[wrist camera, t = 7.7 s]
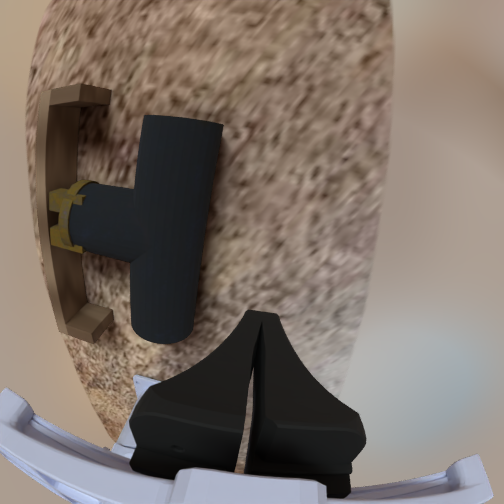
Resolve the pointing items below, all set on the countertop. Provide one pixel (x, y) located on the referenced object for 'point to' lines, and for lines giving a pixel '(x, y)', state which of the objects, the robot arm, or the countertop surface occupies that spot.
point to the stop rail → (49, 179)
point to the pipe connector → (150, 222)
